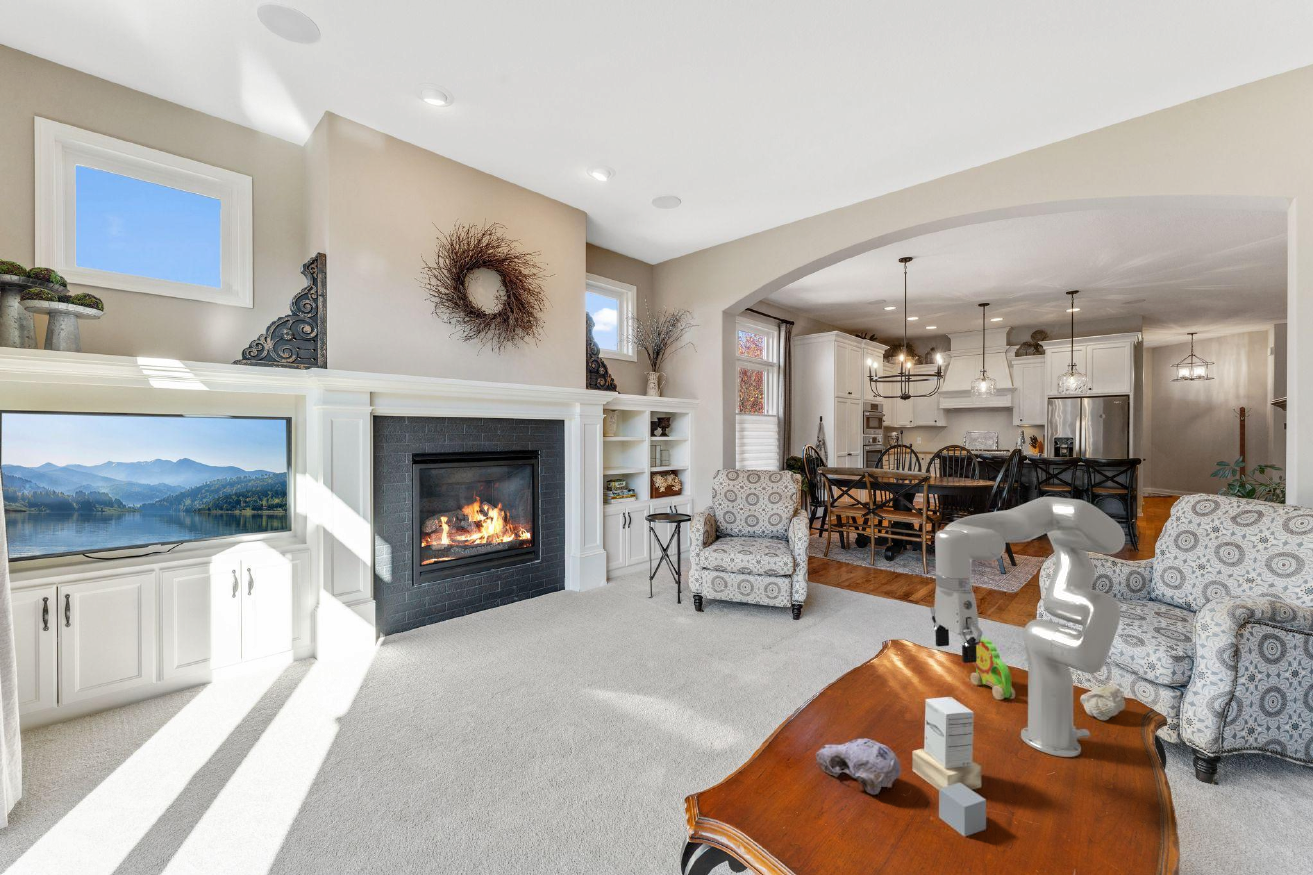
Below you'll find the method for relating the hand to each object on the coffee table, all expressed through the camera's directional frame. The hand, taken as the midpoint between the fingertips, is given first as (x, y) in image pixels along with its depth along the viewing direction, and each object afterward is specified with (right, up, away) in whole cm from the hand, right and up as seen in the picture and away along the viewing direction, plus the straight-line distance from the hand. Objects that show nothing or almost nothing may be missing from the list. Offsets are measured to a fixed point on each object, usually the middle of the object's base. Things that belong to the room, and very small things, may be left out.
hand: (955, 653), depth 130 cm
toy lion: (+34, -28, +42) cm, 61 cm away
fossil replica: (+56, -28, +26) cm, 68 cm away
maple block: (-4, -28, -3) cm, 29 cm away
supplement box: (-4, -23, -4) cm, 24 cm away
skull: (-24, -28, -3) cm, 37 cm away
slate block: (-8, -28, -18) cm, 34 cm away
